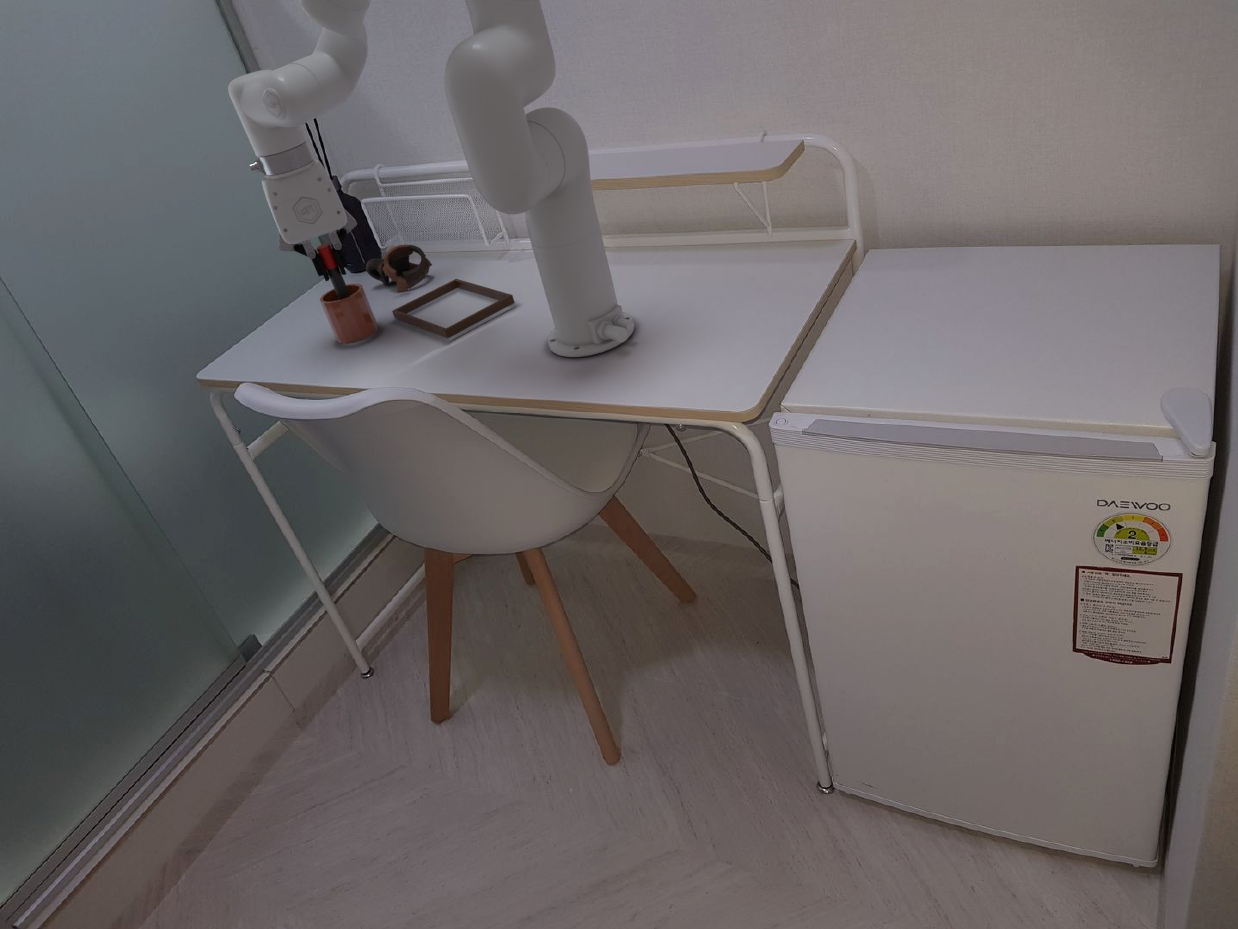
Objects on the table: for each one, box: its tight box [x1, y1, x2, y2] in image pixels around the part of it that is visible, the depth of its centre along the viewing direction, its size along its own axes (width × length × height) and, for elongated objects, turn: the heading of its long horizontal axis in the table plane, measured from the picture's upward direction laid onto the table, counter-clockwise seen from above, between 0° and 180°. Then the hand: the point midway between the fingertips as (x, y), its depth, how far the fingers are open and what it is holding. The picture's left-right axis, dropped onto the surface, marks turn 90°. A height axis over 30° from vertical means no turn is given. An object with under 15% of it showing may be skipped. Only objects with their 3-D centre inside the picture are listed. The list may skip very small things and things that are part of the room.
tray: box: [391, 278, 517, 343], centre depth 151 cm, size 17×13×2 cm
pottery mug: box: [365, 244, 433, 293], centre depth 166 cm, size 12×10×8 cm
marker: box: [316, 243, 350, 300], centre depth 147 cm, size 2×2×14 cm
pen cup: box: [319, 283, 379, 344], centre depth 150 cm, size 7×7×8 cm
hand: (335, 274), depth 146 cm, fingers closed on marker, 2 cm apart
